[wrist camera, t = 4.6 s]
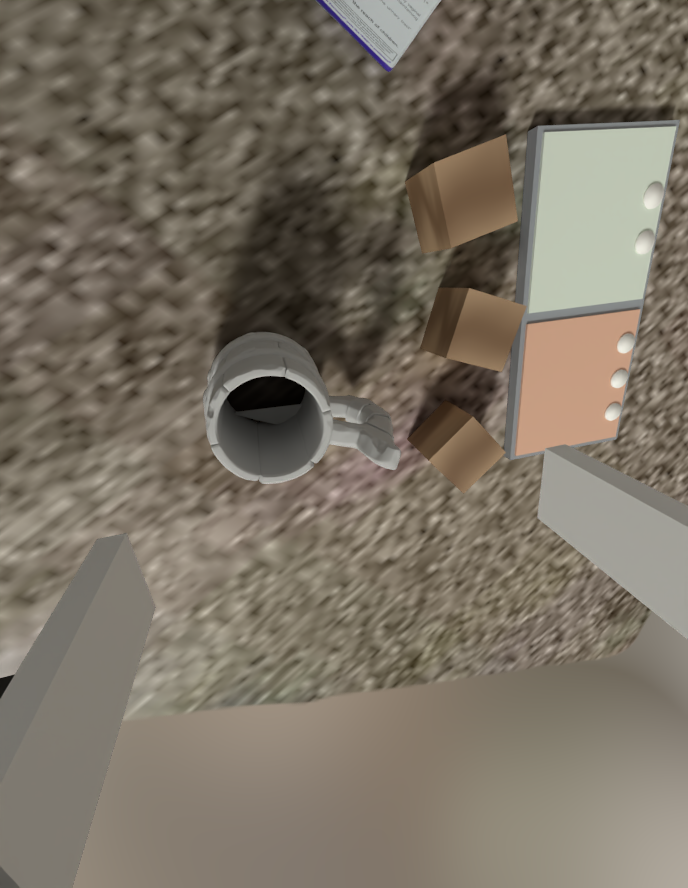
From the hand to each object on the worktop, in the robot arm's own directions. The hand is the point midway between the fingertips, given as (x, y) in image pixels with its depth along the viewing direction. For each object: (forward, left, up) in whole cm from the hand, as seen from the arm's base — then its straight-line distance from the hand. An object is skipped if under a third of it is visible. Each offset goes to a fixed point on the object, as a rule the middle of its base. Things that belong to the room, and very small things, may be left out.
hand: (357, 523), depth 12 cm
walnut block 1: (-11, +12, -19) cm, 25 cm away
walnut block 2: (-3, +13, -19) cm, 23 cm away
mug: (0, 0, -19) cm, 19 cm away
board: (-3, +23, -19) cm, 30 cm away
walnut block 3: (+6, +12, -19) cm, 23 cm away
